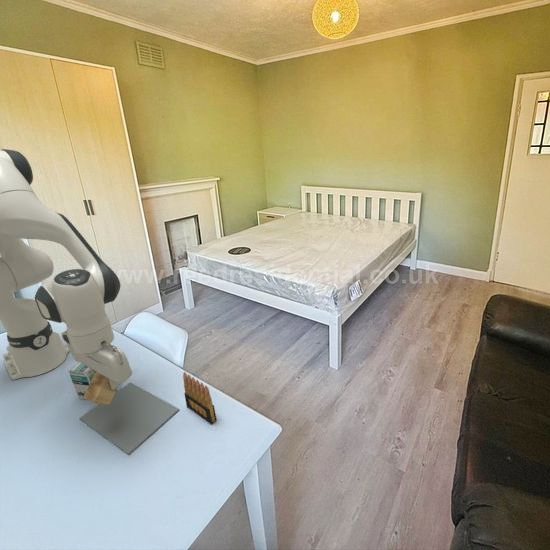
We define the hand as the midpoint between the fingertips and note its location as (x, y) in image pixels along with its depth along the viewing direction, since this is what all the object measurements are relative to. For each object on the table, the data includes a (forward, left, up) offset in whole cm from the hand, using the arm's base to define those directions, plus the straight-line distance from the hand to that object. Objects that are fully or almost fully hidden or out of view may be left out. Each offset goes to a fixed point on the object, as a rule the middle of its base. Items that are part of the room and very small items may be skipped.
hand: (107, 383), depth 83 cm
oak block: (0, -4, -3) cm, 4 cm away
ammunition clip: (+17, +13, -14) cm, 26 cm away
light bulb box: (-18, +5, -14) cm, 23 cm away
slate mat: (0, +3, -14) cm, 14 cm away
